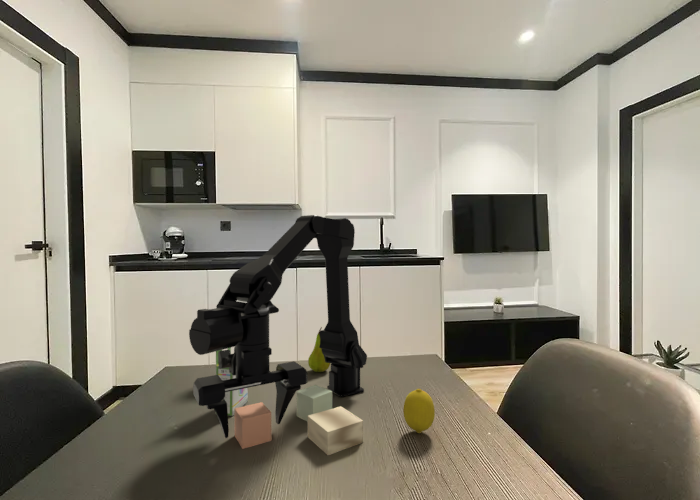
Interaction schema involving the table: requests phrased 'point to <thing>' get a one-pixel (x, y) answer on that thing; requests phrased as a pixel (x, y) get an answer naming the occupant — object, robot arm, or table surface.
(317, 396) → the sage cube
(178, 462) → the table surface
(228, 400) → the ink box
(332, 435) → the maple base
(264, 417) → the terracotta cube
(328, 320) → the robot arm
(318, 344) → the fruit
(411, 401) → the lemon
